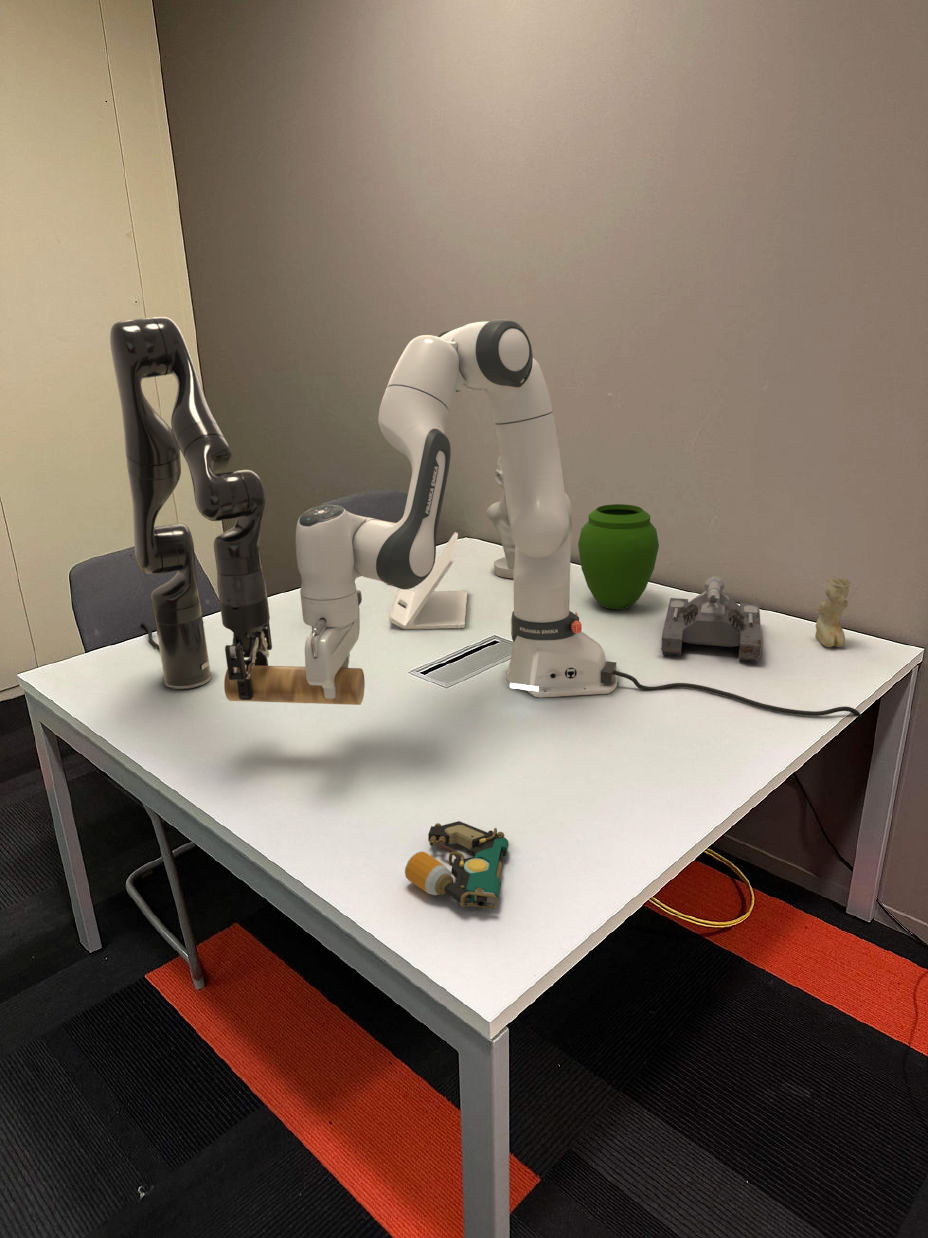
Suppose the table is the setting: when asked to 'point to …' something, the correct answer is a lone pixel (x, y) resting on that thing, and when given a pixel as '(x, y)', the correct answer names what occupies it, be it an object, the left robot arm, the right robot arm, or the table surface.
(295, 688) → the rod
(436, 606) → the tablet stand
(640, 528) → the vase
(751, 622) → the toy
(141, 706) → the table surface
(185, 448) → the left robot arm
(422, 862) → the spray gun
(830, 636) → the sculpture
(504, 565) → the bust sculpture
